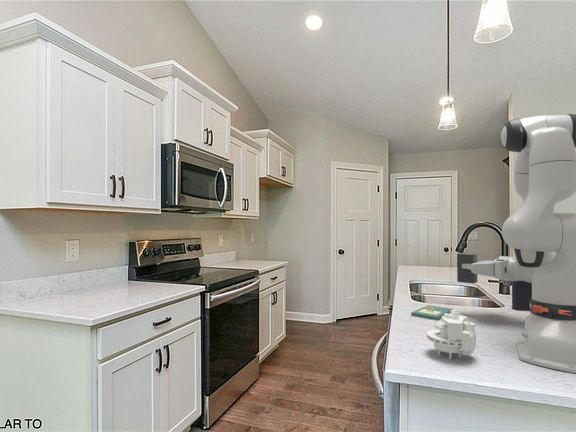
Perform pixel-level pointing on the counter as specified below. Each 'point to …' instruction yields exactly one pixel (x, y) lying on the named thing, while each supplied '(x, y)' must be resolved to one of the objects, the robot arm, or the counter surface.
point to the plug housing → (466, 274)
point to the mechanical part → (453, 334)
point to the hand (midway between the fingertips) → (464, 265)
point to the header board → (431, 312)
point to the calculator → (521, 295)
